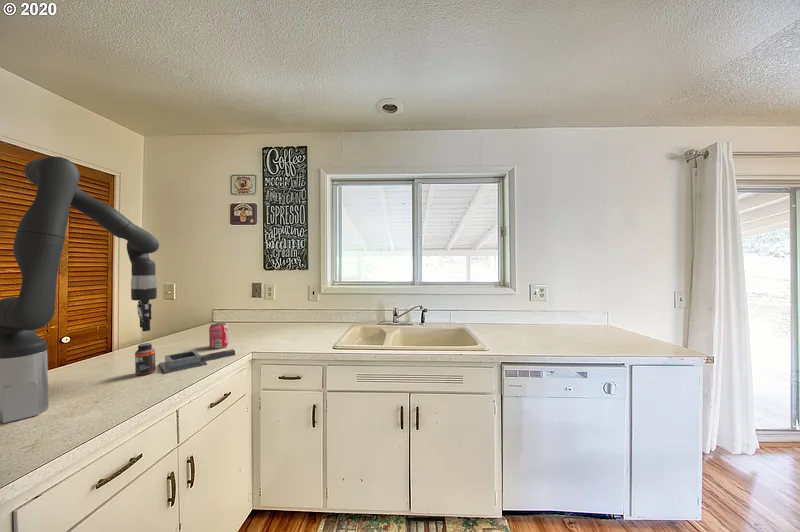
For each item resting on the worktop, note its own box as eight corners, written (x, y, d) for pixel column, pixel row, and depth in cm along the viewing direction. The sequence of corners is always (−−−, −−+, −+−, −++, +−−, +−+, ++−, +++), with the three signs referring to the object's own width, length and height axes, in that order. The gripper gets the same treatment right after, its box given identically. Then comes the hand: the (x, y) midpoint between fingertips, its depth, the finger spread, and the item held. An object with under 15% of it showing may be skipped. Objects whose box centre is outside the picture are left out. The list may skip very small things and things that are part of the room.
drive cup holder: (239, 357, 134) (239, 349, 134) (164, 373, 115) (164, 363, 115) (229, 351, 144) (229, 343, 144) (158, 364, 125) (158, 355, 125)
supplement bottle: (154, 369, 120) (154, 341, 120) (156, 373, 116) (156, 344, 115) (134, 373, 116) (134, 344, 116) (135, 377, 112) (135, 347, 111)
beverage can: (224, 343, 156) (223, 321, 156) (230, 346, 151) (230, 323, 151) (206, 347, 150) (206, 323, 150) (213, 350, 145) (213, 325, 145)
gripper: (129, 286, 117) (130, 327, 118) (132, 289, 107) (133, 334, 108) (153, 285, 123) (154, 324, 123) (159, 287, 113) (160, 330, 113)
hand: (144, 329), depth 115 cm, fingers open, 8 cm apart
